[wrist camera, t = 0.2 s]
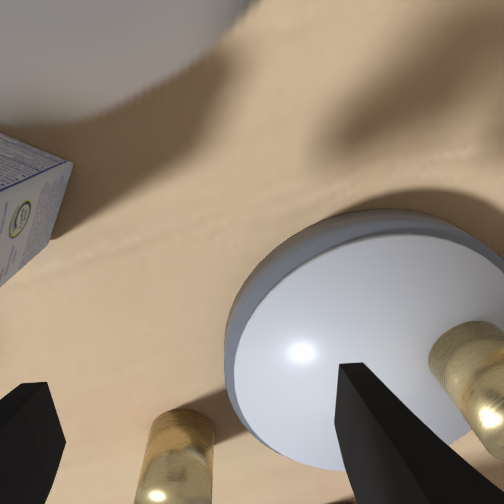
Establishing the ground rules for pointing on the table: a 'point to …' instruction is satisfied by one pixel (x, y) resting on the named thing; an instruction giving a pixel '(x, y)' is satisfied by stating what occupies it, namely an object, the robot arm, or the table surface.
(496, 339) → the spacer
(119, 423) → the table surface
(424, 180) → the table surface
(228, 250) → the table surface
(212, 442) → the cylinder
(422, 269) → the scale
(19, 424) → the robot arm
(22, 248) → the medicine box
